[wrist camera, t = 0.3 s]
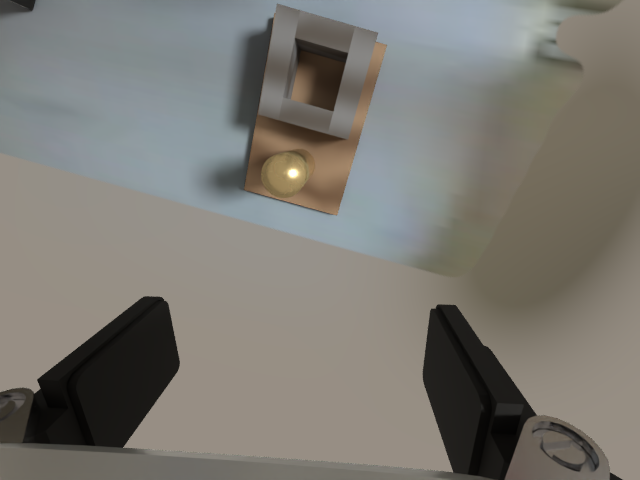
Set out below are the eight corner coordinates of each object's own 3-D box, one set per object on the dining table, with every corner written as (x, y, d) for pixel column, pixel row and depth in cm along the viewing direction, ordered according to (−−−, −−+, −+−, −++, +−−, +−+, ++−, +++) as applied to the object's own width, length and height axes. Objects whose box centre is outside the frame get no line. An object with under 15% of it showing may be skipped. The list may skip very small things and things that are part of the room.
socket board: (276, 16, 36) (264, -6, 31) (385, 47, 37) (393, 31, 31) (246, 188, 44) (231, 196, 38) (337, 213, 44) (336, 225, 38)
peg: (277, 159, 41) (252, 168, 30) (304, 142, 40) (289, 145, 29) (294, 186, 42) (276, 205, 31) (320, 171, 41) (312, 184, 30)
